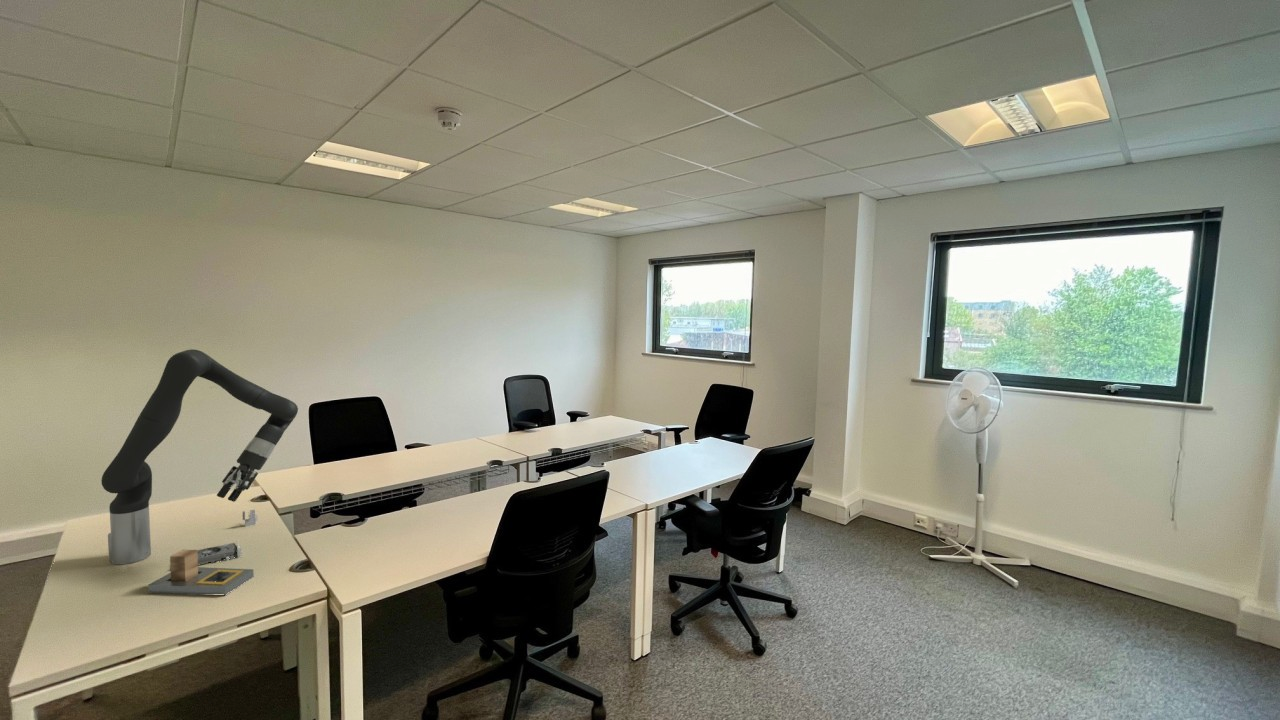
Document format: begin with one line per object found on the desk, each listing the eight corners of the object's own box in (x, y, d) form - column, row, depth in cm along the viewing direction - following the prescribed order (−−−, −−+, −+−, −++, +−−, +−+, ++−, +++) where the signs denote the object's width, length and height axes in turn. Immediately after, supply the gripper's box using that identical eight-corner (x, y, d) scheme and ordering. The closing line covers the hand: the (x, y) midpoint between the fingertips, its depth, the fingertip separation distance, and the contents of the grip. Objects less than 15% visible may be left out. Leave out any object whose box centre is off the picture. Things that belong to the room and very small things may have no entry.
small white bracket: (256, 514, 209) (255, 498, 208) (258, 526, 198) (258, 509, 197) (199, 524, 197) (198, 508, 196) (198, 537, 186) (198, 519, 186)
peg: (171, 587, 153) (170, 556, 152) (184, 579, 157) (183, 549, 156) (185, 588, 153) (184, 556, 152) (198, 580, 157) (197, 549, 156)
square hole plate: (148, 592, 150) (147, 583, 149) (181, 574, 160) (181, 565, 160) (225, 595, 150) (225, 586, 149) (253, 576, 161) (253, 568, 160)
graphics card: (241, 536, 181) (241, 548, 172) (242, 546, 182) (241, 559, 172) (178, 548, 171) (175, 562, 162) (179, 559, 171) (175, 573, 162)
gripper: (236, 447, 173) (204, 492, 166) (255, 450, 166) (222, 498, 158) (257, 456, 179) (227, 500, 171) (277, 459, 171) (246, 505, 164)
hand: (225, 498), depth 165 cm, fingers open, 8 cm apart
